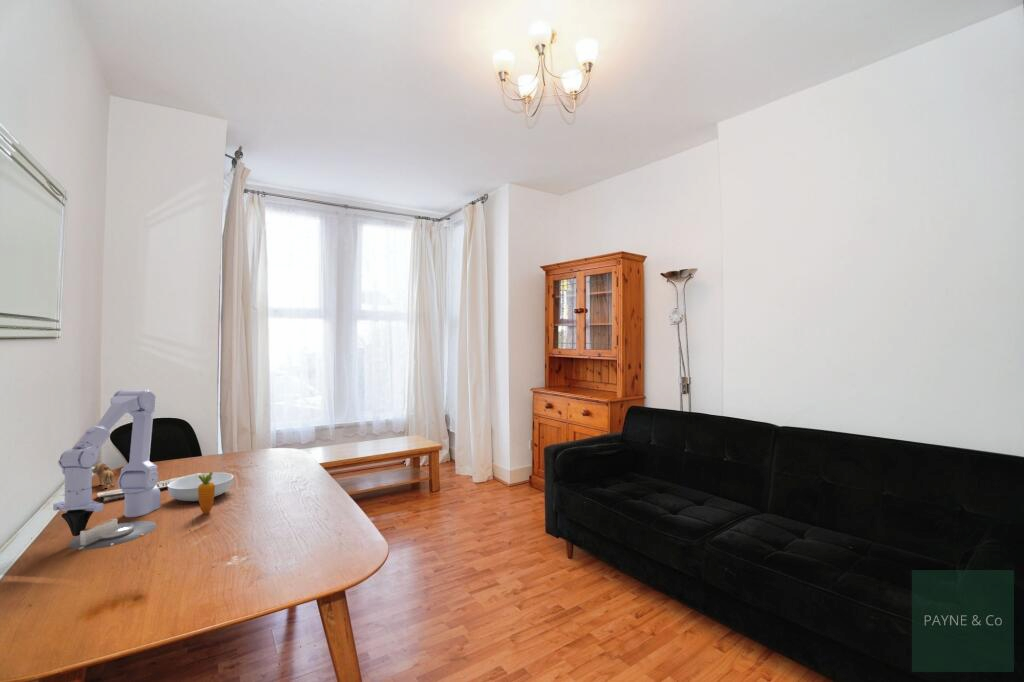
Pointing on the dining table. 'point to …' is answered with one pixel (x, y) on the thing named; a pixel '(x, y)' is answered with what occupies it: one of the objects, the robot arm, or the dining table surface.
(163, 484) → the piano keyboard
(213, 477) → the serving bowl
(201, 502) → the carrot
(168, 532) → the dining table surface
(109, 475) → the lion figurine
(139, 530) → the dial plate
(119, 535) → the grey bar on dome
